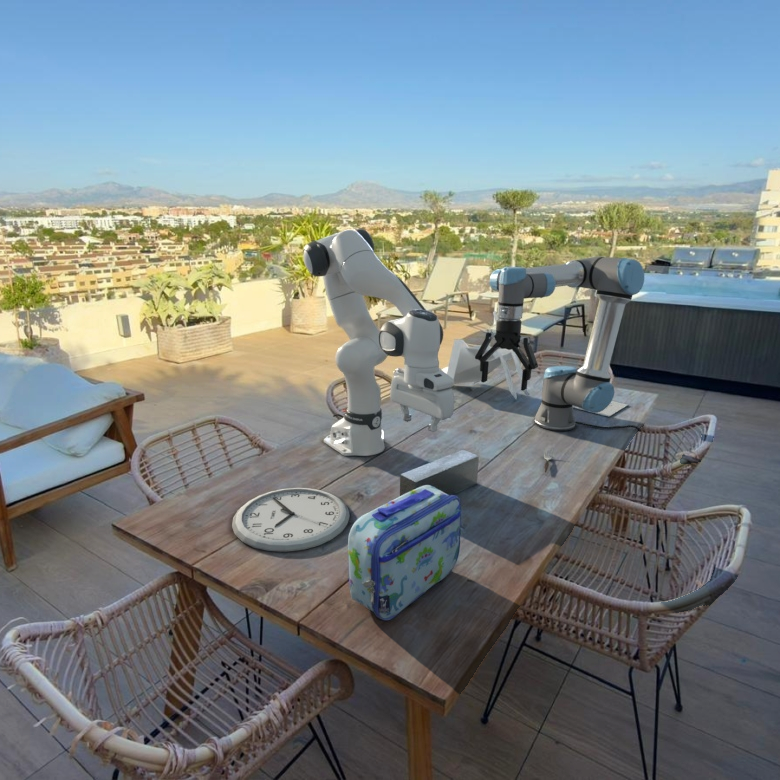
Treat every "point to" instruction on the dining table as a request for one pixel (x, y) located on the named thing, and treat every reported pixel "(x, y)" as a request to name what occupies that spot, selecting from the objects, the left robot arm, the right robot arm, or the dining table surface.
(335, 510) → the wall clock
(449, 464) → the bar
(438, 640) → the dining table surface
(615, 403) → the invitation card
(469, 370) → the white plastic object
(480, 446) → the dining table surface
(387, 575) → the lunch box
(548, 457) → the fork
